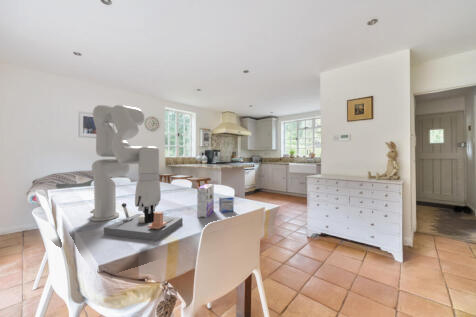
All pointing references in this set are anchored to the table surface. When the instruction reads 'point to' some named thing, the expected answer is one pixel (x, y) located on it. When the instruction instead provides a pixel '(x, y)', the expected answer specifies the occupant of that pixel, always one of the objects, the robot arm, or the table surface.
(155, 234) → the control board
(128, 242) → the table surface
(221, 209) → the medicine box
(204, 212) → the candy box
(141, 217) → the push button
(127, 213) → the toggle lever
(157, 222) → the block
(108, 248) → the table surface
